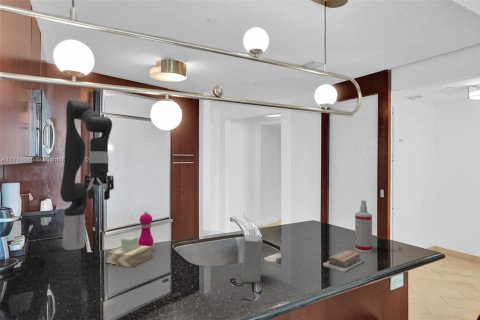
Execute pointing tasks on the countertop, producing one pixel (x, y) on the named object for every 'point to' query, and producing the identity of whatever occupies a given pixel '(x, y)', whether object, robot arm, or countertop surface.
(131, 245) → the cube
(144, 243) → the pepper mill
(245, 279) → the skincare box
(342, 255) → the soap bar on dish
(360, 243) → the spray bottle
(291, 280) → the countertop surface
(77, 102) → the robot arm
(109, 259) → the pedestal
